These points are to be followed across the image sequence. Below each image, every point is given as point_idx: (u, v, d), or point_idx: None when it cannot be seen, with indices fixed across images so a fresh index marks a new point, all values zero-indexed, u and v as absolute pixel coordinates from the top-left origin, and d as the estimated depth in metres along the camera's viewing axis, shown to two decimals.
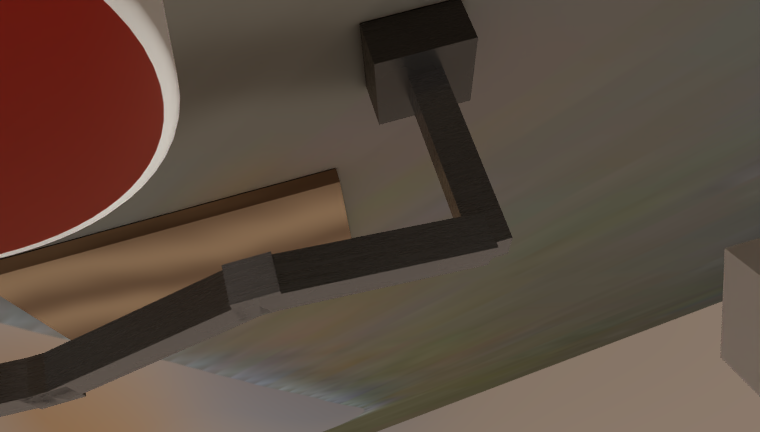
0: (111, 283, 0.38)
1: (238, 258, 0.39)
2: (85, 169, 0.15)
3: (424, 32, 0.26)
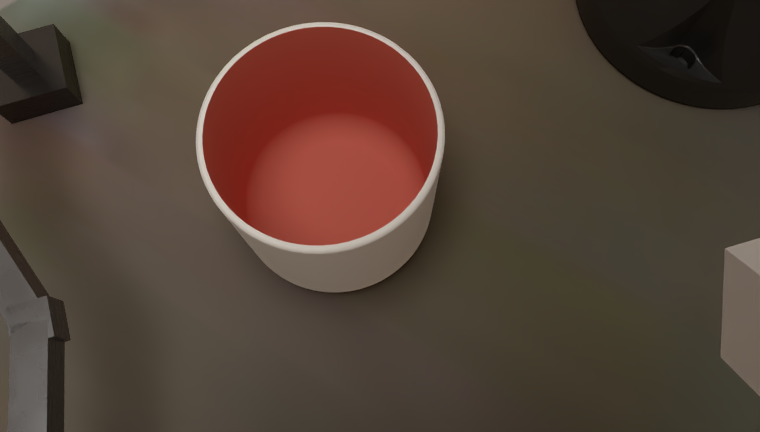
0: None
1: None
2: None
3: None
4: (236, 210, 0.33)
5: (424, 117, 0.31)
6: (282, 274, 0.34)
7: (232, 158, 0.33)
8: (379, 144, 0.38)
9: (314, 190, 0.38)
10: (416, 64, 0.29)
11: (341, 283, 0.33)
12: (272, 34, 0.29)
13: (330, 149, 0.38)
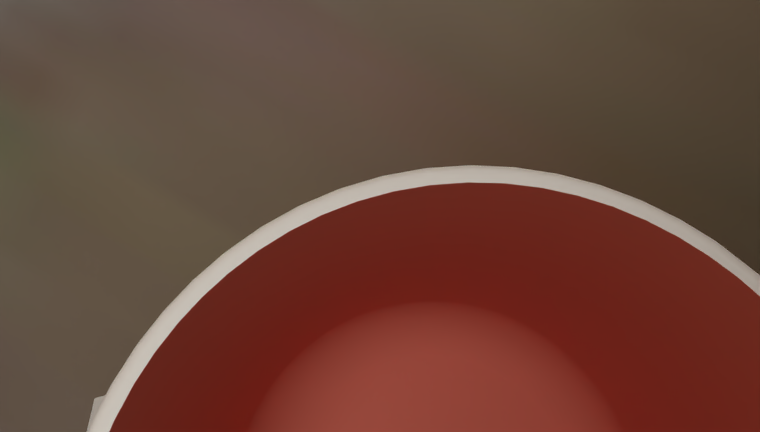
0: None
1: None
2: None
3: None
4: None
5: (742, 423, 0.11)
6: None
7: None
8: (521, 365, 0.18)
9: None
10: None
11: None
12: (321, 205, 0.09)
13: (415, 373, 0.18)
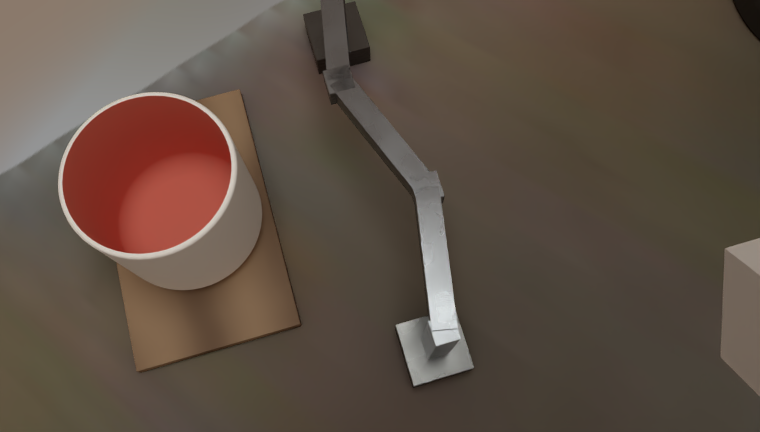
0: None
1: None
2: (86, 231, 0.40)
3: None
4: (101, 226, 0.44)
5: None
6: (137, 275, 0.45)
7: (100, 187, 0.44)
8: (228, 177, 0.49)
9: (175, 211, 0.49)
10: (221, 125, 0.40)
11: (178, 282, 0.44)
12: (120, 100, 0.41)
13: (190, 180, 0.49)
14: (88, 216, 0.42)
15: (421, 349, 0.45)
